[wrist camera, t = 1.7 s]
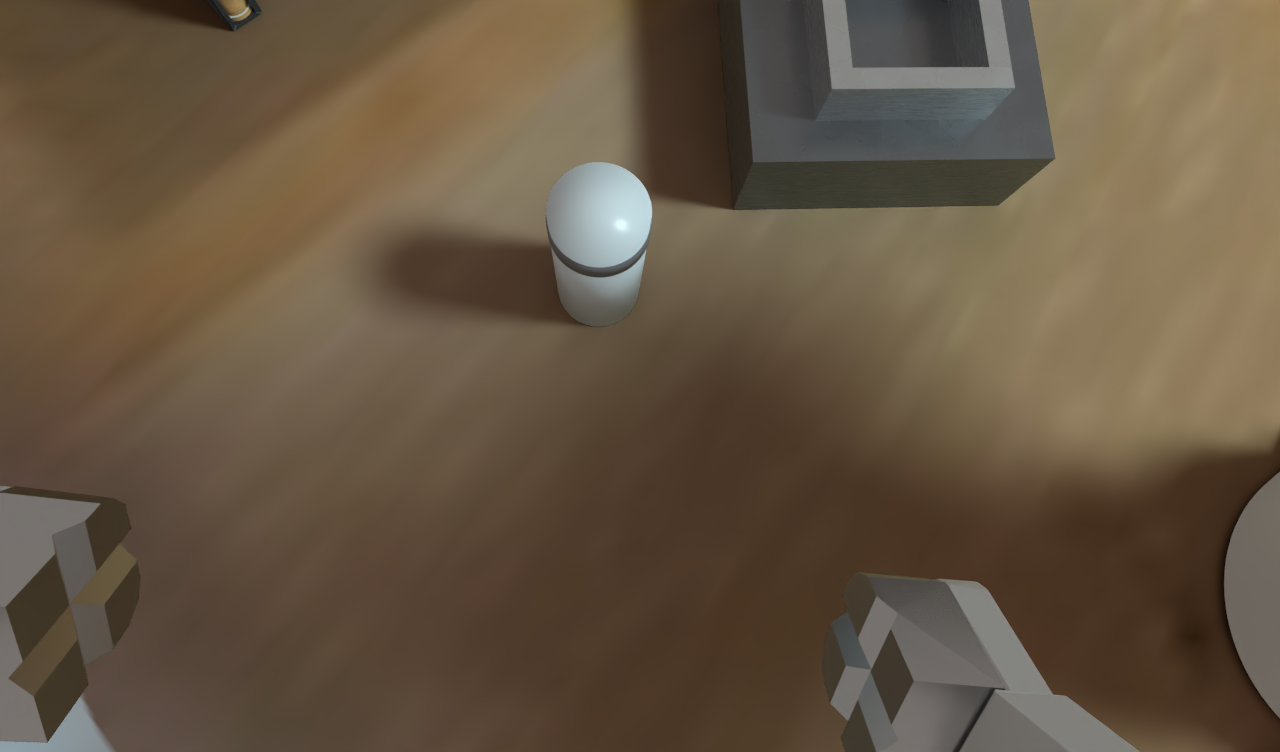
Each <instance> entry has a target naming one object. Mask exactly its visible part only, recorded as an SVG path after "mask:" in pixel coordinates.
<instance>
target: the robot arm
mask: <svg viewBox="0 0 1280 752" xmlns="http://www.w3.org/2000/svg"><path fill="white" fill-rule="evenodd" d="M130 530H131V525H130V521H129V517H128V513H127V508H126V504H124V503H122V502H120V501H118V500H116V499H114V498H107V497H99V496H91V495H83V494H74V493H66V492H58V491H50V490H41V489H33V488H25V487H16V486H14V487H7V486H0V741H16V742H48V741H49V739H50V738H51V737H52V735H53V734H54V733H55V731H56V730H57V728H58V727H59V725H60V724H61V723H62V721H63V720H64V718H65V717H66V716H67V714H68V713H69V711H70V710H71V709H72V707H73V706H74V704H75V703H76V701H77V700H78V698H79V697H80V696H81V695H82V693H83V692H84V690H85V689H86V687H87V686H88V679H87V674H86V668H85V665H86V664H88V663H90V662H92V661H93V660H95V659H97V658H99V657H100V656H102V655H104V654H105V653H107V652H109V651H111V650H112V649H114V647H115V646H116V644H117V643H118V642H119V640H120V639H121V637H122V636H123V634H124V633H125V631H126V630H127V628H128V627H129V624H130V622H131V619H132V616H133V613H134V611H135V608H136V605H137V602H138V600H139V589H140V573H139V567H138V561H137V560H136V559H135V558H134V557H133V556H132V555H131V554H130V553H129V552H128V551H127V550H126V549H125V548H124V547H123V546H122V545H121V544H120V542H121V541H122V540H123V539H124V537H125V536H126V535H127V534H128V532H129V531H130ZM1224 595H1225V605H1226V612H1227V618H1228V622H1229V626H1230V630H1231V634H1232V637H1233V641H1234V643H1235V646H1236V649H1237V652H1238V654H1239V656H1240V659H1241V661H1242V663H1243V665H1244V667H1245V669H1246V671H1247V673H1248V675H1249V677H1250V679H1251V680H1252V682H1253V684H1254V686H1255V687H1256V689H1257V690H1258V692H1259V693H1260V695H1261V696H1262V697H1263V699H1264V700H1265V701H1266V703H1267V704H1268V705H1269V707H1270V708H1271V709H1272V710H1273V711H1274V712H1275V714H1276V715H1277V716H1278V717H1279V718H1280V472H1279V473H1278V474H1276V475H1275V476H1274V477H1273V478H1272V479H1271V480H1270V481H1268V482H1267V483H1266V484H1265V485H1264V486H1263V487H1262V488H1261V489H1260V490H1259V491H1258V492H1257V493H1256V494H1255V495H1254V496H1253V498H1252V499H1251V500H1250V501H1249V503H1248V504H1247V506H1246V507H1245V509H1244V510H1243V512H1242V514H1241V516H1240V518H1239V519H1238V521H1237V524H1236V526H1235V528H1234V531H1233V534H1232V537H1231V540H1230V543H1229V547H1228V551H1227V557H1226V563H1225V573H1224ZM842 597H843V600H844V602H845V605H846V608H847V610H848V611H847V612H846V613H844V614H843V615H842V616H840V617H839V618H837V619H836V620H835V621H833V622H832V623H831V625H830V628H829V630H828V633H827V636H826V639H825V642H824V649H823V662H822V668H823V676H824V684H825V687H826V691H827V694H828V698H829V701H830V704H831V705H832V706H833V707H834V708H835V709H836V710H837V711H838V712H839V713H840V714H841V715H842V716H843V717H844V718H845V719H846V720H847V721H848V722H847V725H846V727H845V729H844V731H843V734H842V736H841V740H842V743H843V746H844V749H845V752H1140V751H1138V750H1137V749H1136V748H1134V747H1133V746H1132V745H1130V744H1129V743H1128V742H1126V741H1125V740H1124V739H1122V738H1121V737H1120V736H1118V735H1117V734H1116V733H1114V732H1113V731H1112V730H1111V729H1109V728H1108V727H1107V726H1105V725H1104V724H1103V723H1101V722H1100V721H1099V720H1097V719H1096V718H1095V717H1093V716H1092V715H1091V714H1089V713H1088V712H1087V711H1085V710H1084V709H1083V708H1081V707H1080V706H1079V705H1077V704H1076V703H1075V702H1074V701H1072V700H1071V699H1070V698H1068V697H1067V696H1064V695H1054V694H1052V692H1051V690H1050V689H1049V687H1048V686H1047V684H1046V682H1045V681H1044V679H1043V678H1042V676H1041V674H1040V673H1039V671H1038V670H1037V668H1036V666H1035V665H1034V663H1033V662H1032V660H1031V658H1030V657H1029V655H1028V654H1027V652H1026V650H1025V649H1024V647H1023V645H1022V644H1021V642H1020V641H1019V639H1018V637H1017V636H1016V634H1015V633H1014V631H1013V629H1012V628H1011V626H1010V625H1009V623H1008V621H1007V620H1006V618H1005V617H1004V615H1003V613H1002V612H1001V610H1000V609H999V607H998V605H997V604H996V602H995V601H994V599H993V597H992V596H991V594H990V593H989V591H988V590H987V589H986V588H985V587H984V586H982V585H981V584H980V583H978V582H975V581H963V580H950V579H930V578H919V577H908V576H897V575H886V574H875V573H864V572H856V573H855V574H854V575H853V576H852V577H851V578H850V579H849V581H848V583H847V585H846V588H845V590H844V593H843V595H842Z"/></svg>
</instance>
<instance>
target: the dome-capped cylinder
mask: <svg viewBox="0 0 1280 752" xmlns="http://www.w3.org/2000/svg"><path fill="white" fill-rule="evenodd" d="M546 226H547V232H548V238H549V242H550V245H551V250H552V256H553V263H554V269H555V276H556V282H557V289H558V295H559V299H560V301H561V304H562V306H563V307H564V309H565V310H566V312H567V313H568V314H569V315H570V316H571V317H572V318H574V319H575V320H577V321H578V322H580V323H583V324H585V325H589V326H594V327H602V326H609V325H612V324H615V323H617V322H619V321H621V320H622V319H624V318H625V317H626V316H627V315H628V314H629V313H630V312H631V311H632V309H633V308H634V306H635V304H636V302H637V298H638V294H639V288H640V282H641V277H642V271H643V265H644V259H645V254H646V248H647V245H648V242H649V238H650V232H651V226H652V206H651V201H650V197H649V195H648V192H647V190H646V189H645V187H644V185H643V184H642V183H641V181H640V180H639V179H638V178H637V177H636V176H635V175H633V174H632V173H631V172H629V171H628V170H626V169H624V168H622V167H620V166H617V165H614V164H610V163H604V162H594V163H587V164H583V165H580V166H577V167H575V168H573V169H571V170H569V171H568V172H566V173H565V174H564V175H562V176H561V177H560V178H559V179H558V180H557V182H556V183H555V184H554V186H553V187H552V189H551V191H550V193H549V196H548V199H547V205H546Z"/></svg>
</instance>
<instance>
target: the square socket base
mask: <svg viewBox="0 0 1280 752" xmlns="http://www.w3.org/2000/svg"><path fill="white" fill-rule="evenodd" d="M718 10H719V23H720V37H721V50H722V64H723V77H724V91H725V104H726V118H727V131H728V145H729V158H730V172H731V186H732V199H733V210H739V209H798V208H858V207H917V206H977V205H999V204H1000V203H1002V202H1003V201H1004V200H1005V199H1007V198H1008V197H1009V196H1010V195H1011V194H1013V193H1014V192H1015V191H1016V190H1017V189H1019V188H1020V187H1021V186H1022V185H1024V184H1025V183H1026V182H1027V181H1028V180H1030V179H1031V178H1032V177H1033V176H1034V175H1036V174H1037V173H1038V172H1039V171H1040V170H1042V169H1043V168H1044V167H1045V166H1047V165H1048V164H1049V163H1050V162H1051V161H1053V160H1054V159H1055V154H1054V148H1053V143H1052V137H1051V131H1050V125H1049V119H1048V113H1047V107H1046V101H1045V96H1044V90H1043V84H1042V78H1041V72H1040V66H1039V60H1038V54H1037V49H1036V43H1035V37H1034V31H1033V25H1032V19H1031V13H1030V7H1029V2H1028V0H719V1H718Z"/></svg>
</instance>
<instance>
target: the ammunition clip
mask: <svg viewBox="0 0 1280 752" xmlns="http://www.w3.org/2000/svg"><path fill="white" fill-rule="evenodd" d="M206 1H207V3H208V4H209V5H210V6H211V7H212V8H213V10H214V11H215V12H216V13H217V14H218V15H219V17H220V18H221V19H222V20H223V21H224V22H225V23H226V25H227V26H228V27H229V28H230V29H231V30H236V29H237V28H239V27H240V26H242V25H243V24H245V23H247V22H248V21H250V20H251V19H253V18H254V17H256V16H257V15H259V14H260V13H261V12H262V11H261V9H260V7H259V6H258V4H257V3H256V1H255V0H206Z"/></svg>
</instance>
